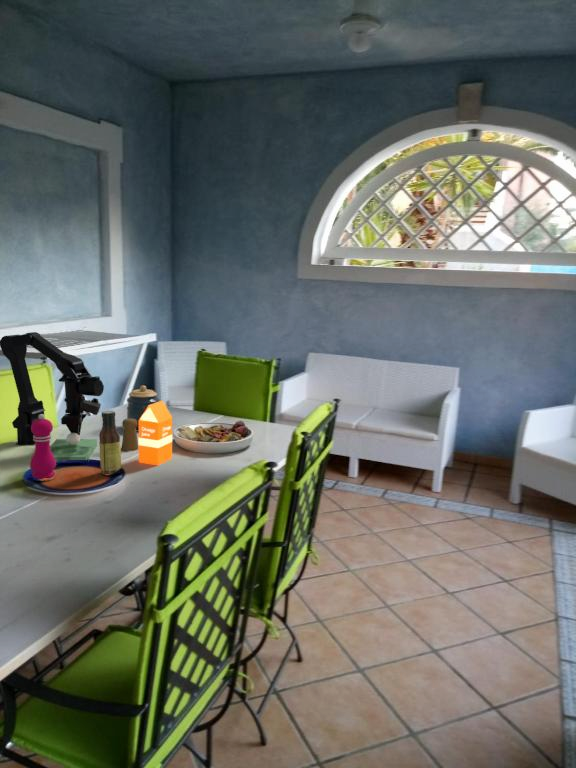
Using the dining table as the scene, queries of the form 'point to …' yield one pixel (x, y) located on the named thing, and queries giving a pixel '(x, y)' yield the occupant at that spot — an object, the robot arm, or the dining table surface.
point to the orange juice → (155, 435)
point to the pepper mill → (42, 449)
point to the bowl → (213, 437)
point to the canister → (140, 402)
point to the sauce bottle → (109, 444)
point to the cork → (129, 435)
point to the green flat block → (73, 449)
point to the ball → (73, 439)
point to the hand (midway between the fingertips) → (77, 437)
